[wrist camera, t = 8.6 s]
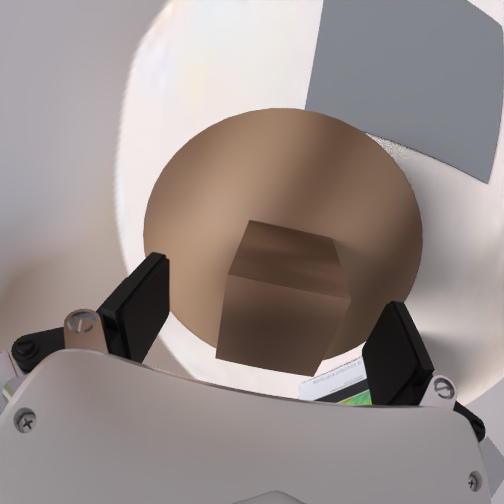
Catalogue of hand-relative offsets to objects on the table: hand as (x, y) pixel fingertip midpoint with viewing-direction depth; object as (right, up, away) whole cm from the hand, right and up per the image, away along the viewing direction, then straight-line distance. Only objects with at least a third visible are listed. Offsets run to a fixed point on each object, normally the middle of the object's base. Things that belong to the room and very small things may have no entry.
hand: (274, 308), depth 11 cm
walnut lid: (+1, +2, +4) cm, 4 cm away
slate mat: (+13, +18, +3) cm, 23 cm away
